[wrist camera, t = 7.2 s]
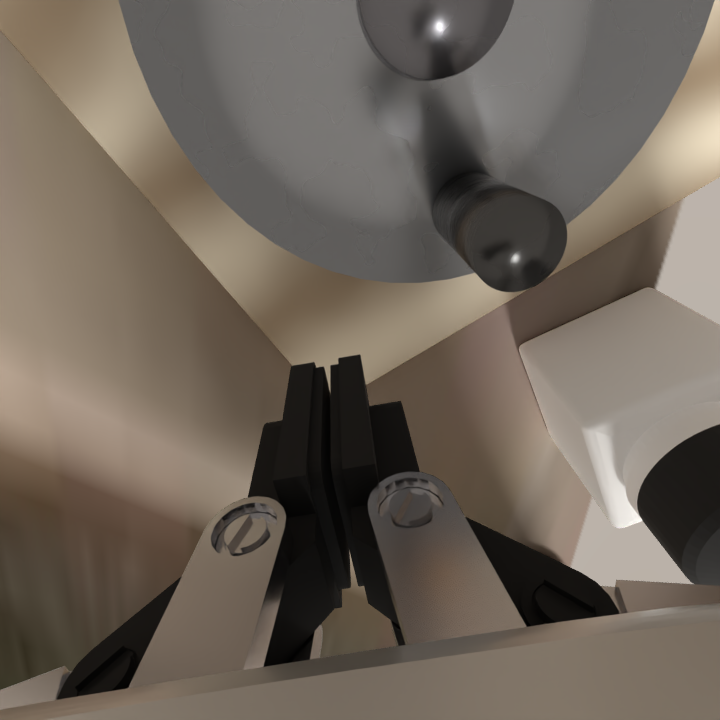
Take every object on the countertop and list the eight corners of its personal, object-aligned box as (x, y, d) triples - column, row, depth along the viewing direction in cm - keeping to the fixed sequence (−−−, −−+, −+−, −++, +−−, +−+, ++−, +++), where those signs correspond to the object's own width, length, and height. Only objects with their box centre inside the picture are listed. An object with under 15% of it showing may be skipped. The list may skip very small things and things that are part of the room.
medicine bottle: (548, 435, 27) (691, 642, 17) (515, 343, 24) (668, 531, 13) (667, 386, 26) (900, 576, 15) (649, 282, 22) (933, 435, 12)
